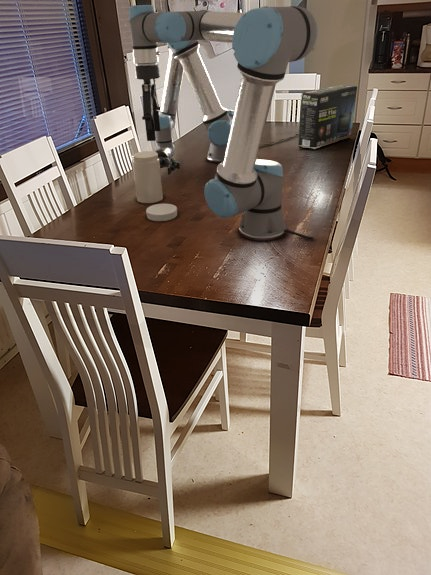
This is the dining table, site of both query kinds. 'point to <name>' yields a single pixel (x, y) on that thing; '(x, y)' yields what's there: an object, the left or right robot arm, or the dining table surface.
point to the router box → (326, 115)
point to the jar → (147, 177)
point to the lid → (161, 212)
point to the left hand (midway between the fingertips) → (152, 171)
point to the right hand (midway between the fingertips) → (154, 135)
